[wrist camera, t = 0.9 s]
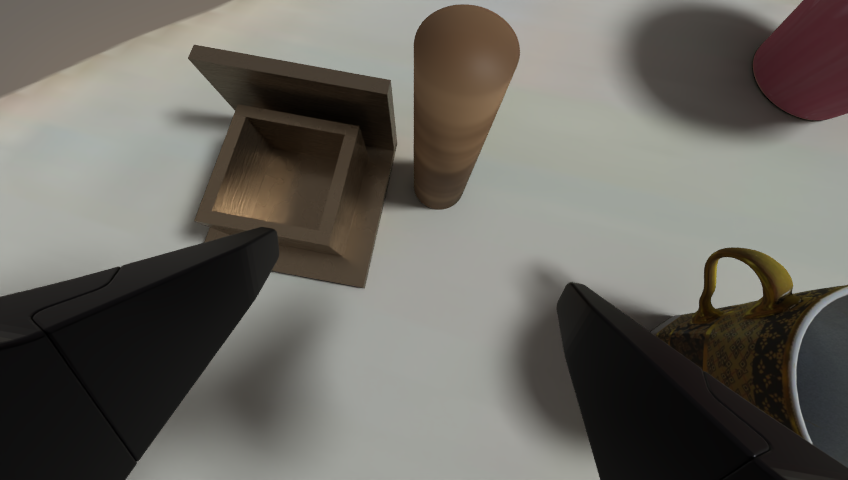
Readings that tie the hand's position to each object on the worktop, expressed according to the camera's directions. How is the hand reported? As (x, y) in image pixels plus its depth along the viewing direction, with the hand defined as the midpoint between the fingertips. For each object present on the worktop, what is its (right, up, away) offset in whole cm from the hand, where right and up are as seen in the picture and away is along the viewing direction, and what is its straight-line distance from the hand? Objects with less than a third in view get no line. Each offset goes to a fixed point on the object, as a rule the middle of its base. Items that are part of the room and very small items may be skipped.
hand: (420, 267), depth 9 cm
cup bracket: (-9, +4, +14) cm, 17 cm away
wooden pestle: (+1, +5, +15) cm, 16 cm away
